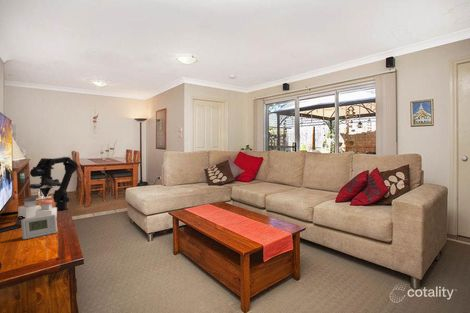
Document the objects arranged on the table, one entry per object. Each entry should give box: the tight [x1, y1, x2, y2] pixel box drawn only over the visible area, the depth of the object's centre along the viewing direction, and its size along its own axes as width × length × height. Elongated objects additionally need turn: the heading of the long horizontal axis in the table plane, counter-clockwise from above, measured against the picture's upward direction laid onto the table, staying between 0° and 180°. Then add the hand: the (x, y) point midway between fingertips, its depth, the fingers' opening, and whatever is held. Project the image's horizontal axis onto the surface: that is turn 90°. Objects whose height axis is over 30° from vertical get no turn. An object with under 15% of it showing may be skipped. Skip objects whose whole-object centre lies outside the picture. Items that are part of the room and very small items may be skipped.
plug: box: [23, 197, 37, 207], centre depth 174 cm, size 6×6×8 cm
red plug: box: [40, 199, 54, 210], centre depth 168 cm, size 6×6×8 cm
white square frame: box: [35, 206, 58, 218], centre depth 168 cm, size 9×9×7 cm
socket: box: [17, 204, 41, 219], centre depth 174 cm, size 9×9×7 cm
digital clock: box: [20, 214, 58, 240], centre depth 138 cm, size 16×9×11 cm, turn 133°
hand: (45, 196), depth 178 cm, fingers closed
